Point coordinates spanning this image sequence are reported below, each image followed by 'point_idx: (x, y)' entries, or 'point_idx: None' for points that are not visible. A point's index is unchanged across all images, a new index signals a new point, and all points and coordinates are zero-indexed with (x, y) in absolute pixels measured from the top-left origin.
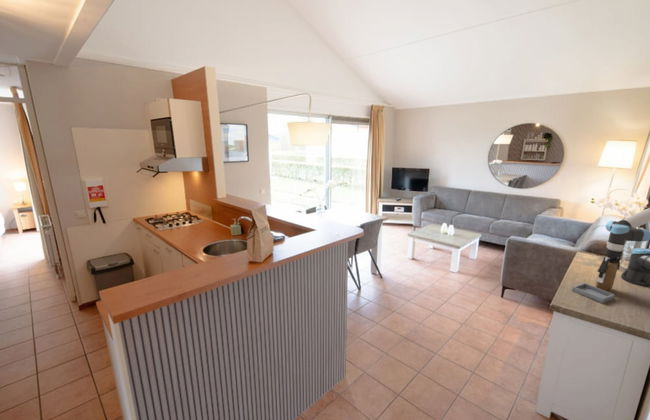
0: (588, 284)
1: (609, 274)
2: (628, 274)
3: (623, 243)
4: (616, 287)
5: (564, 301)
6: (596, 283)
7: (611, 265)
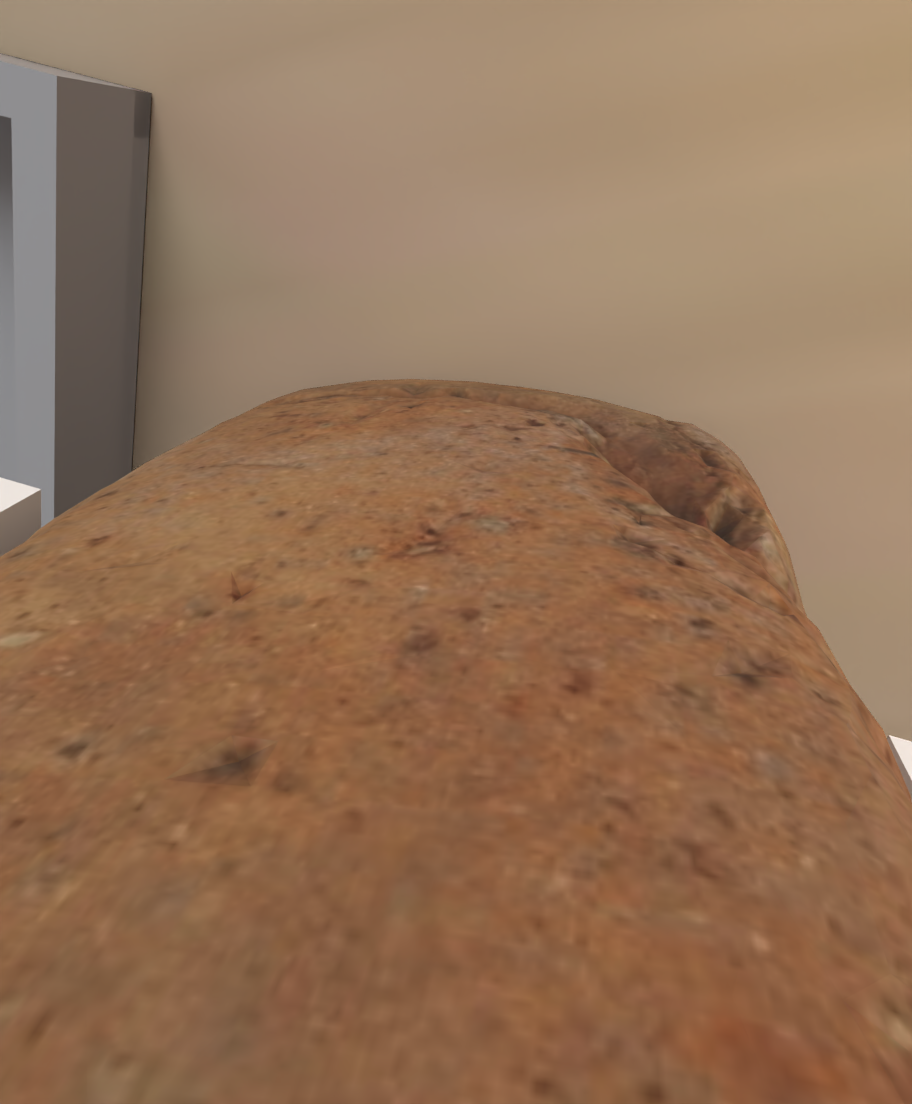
0: (48, 225)
1: None
2: None
3: None
4: (907, 736)
5: None
6: (227, 423)
7: None
